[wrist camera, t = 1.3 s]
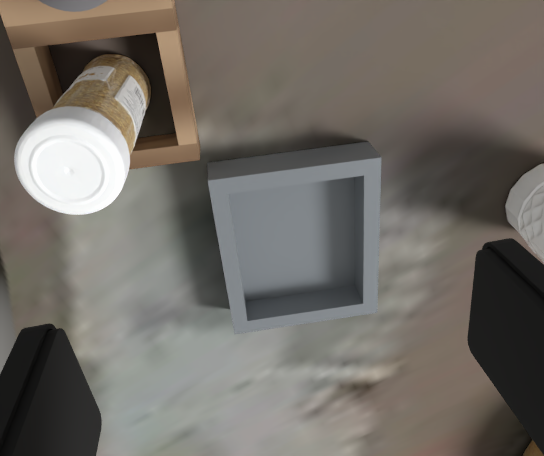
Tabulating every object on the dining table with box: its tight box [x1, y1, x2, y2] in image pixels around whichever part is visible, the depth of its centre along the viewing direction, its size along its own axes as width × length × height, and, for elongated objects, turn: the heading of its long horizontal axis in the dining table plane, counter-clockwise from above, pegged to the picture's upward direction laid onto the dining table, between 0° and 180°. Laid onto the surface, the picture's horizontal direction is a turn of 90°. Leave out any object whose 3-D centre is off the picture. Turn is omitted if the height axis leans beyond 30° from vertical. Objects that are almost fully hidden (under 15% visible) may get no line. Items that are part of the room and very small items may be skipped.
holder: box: [0, 0, 200, 169], centre depth 28 cm, size 16×9×5 cm, turn 5°
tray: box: [207, 142, 381, 334], centre depth 38 cm, size 14×12×3 cm
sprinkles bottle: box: [14, 54, 151, 215], centre depth 26 cm, size 5×5×14 cm
